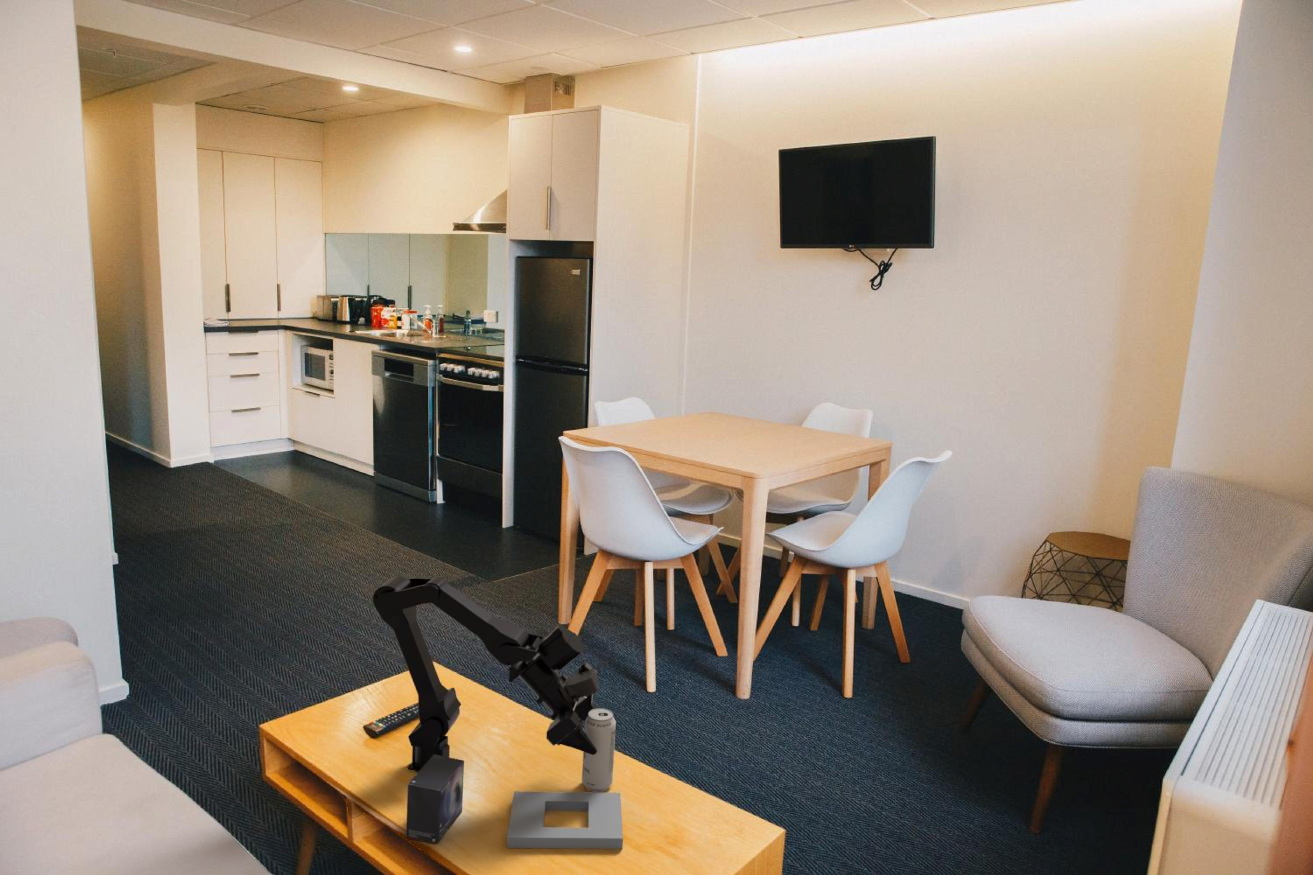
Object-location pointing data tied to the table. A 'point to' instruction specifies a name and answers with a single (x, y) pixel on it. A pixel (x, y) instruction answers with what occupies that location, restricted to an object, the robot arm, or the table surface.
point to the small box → (434, 799)
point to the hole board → (533, 834)
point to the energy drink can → (599, 750)
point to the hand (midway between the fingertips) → (599, 741)
